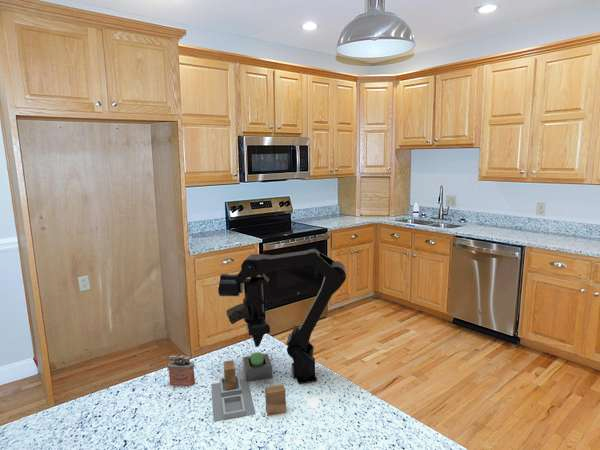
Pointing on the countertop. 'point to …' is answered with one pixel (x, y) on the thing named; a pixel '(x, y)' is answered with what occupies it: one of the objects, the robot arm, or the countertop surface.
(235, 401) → the grey socket board
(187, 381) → the lighter
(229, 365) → the billet
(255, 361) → the button
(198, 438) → the countertop surface
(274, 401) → the billet
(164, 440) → the countertop surface
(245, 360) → the button box
